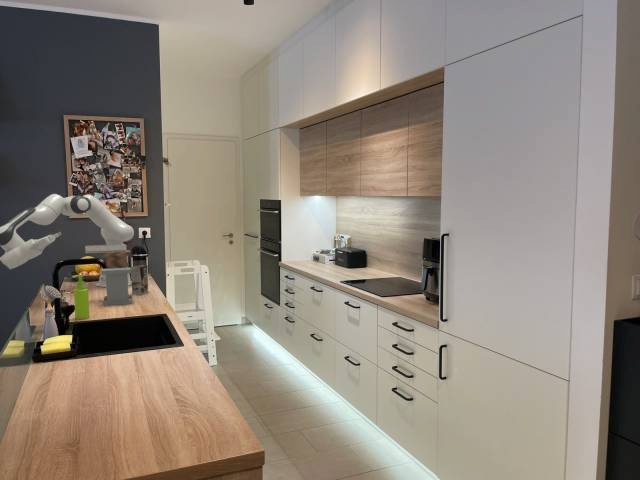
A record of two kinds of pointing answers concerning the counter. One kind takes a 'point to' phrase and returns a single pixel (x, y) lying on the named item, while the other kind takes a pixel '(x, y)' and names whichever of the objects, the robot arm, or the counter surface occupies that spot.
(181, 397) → the counter surface
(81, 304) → the soap dispenser
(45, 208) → the robot arm
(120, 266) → the walnut stand
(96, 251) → the alu channel
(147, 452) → the counter surface
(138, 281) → the coffee box
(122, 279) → the grey stand
